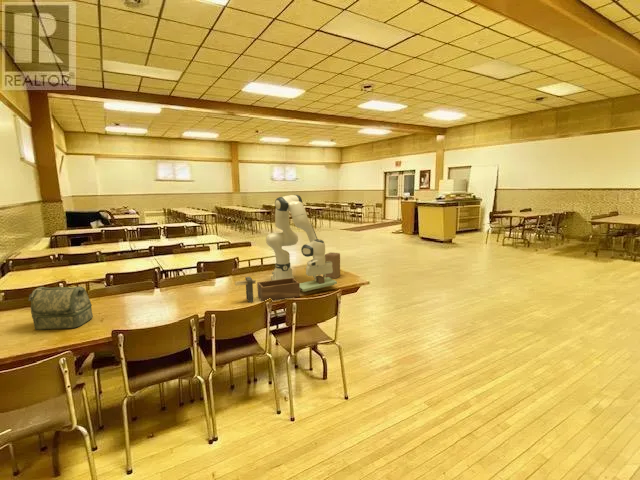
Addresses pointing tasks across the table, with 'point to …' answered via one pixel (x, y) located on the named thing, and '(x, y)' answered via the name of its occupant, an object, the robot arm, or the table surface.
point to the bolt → (244, 282)
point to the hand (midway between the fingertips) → (319, 280)
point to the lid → (317, 283)
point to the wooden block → (333, 264)
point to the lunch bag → (60, 307)
